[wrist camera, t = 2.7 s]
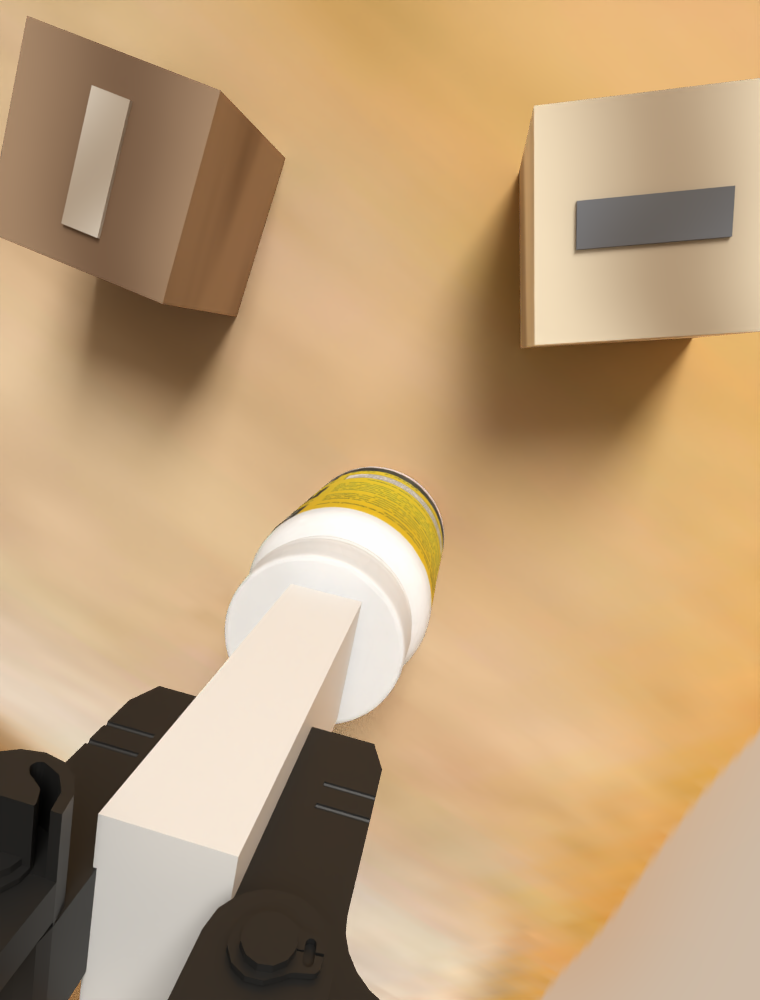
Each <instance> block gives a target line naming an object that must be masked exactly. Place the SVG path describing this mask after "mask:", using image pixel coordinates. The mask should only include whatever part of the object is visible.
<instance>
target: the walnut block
mask: <svg viewBox="0 0 760 1000" xmlns="http://www.w3.org/2000/svg"><path fill="white" fill-rule="evenodd" d="M284 161H285V157H284V156H283V155H282V154H281V153H280V152H279V151H278V150H277V149H276V148H275V147H274V146H273V145H272V144H271V143H270V142H269V141H268V140H267V139H266V138H265V136H264V135H263V134H262V133H261V132H260V131H259V130H258V129H257V128H256V127H255V126H254V125H253V124H252V123H251V122H250V121H249V120H248V119H247V118H246V117H245V116H244V115H243V114H242V112H241V111H240V110H239V109H238V108H237V107H236V106H235V105H234V104H233V103H232V102H231V101H230V100H229V99H228V98H227V97H226V96H225V95H224V94H223V93H222V92H221V91H220V90H218V89H215V88H213V87H210V86H207V85H205V84H202V83H200V82H197V81H194V80H192V79H189V78H187V77H184V76H182V75H179V74H176V73H174V72H171V71H169V70H166V69H163V68H161V67H158V66H156V65H153V64H151V63H148V62H145V61H143V60H140V59H138V58H135V57H132V56H130V55H127V54H125V53H122V52H119V51H117V50H114V49H112V48H109V47H107V46H104V45H101V44H99V43H96V42H94V41H91V40H88V39H86V38H83V37H81V36H78V35H76V34H73V33H70V32H68V31H65V30H63V29H60V28H57V27H55V26H52V25H50V24H47V23H45V22H42V21H39V20H37V19H34V18H32V17H29V16H27V19H26V25H25V30H24V35H23V40H22V46H21V51H20V56H19V61H18V67H17V72H16V77H15V83H14V88H13V93H12V98H11V104H10V109H9V114H8V119H7V125H6V130H5V135H4V141H3V146H2V151H1V156H0V237H1V238H3V239H6V240H8V241H11V242H13V243H15V244H18V245H20V246H23V247H25V248H28V249H30V250H32V251H35V252H37V253H40V254H42V255H45V256H47V257H49V258H52V259H54V260H57V261H59V262H62V263H64V264H66V265H69V266H71V267H74V268H76V269H79V270H81V271H84V272H86V273H88V274H91V275H93V276H96V277H98V278H101V279H103V280H105V281H108V282H110V283H113V284H115V285H118V286H120V287H122V288H125V289H127V290H130V291H132V292H135V293H137V294H139V295H142V296H144V297H147V298H149V299H152V300H154V301H157V302H159V303H161V304H166V305H172V306H177V307H183V308H189V309H195V310H200V311H206V312H212V313H218V314H223V315H229V316H235V317H237V314H238V310H239V307H240V304H241V301H242V297H243V294H244V291H245V288H246V284H247V281H248V278H249V275H250V271H251V268H252V265H253V262H254V258H255V255H256V252H257V249H258V245H259V242H260V239H261V236H262V232H263V229H264V226H265V223H266V219H267V216H268V213H269V210H270V206H271V203H272V200H273V196H274V193H275V190H276V187H277V183H278V180H279V177H280V174H281V170H282V167H283V164H284Z"/></svg>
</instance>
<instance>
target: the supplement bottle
mask: <svg viewBox="0 0 760 1000" xmlns="http://www.w3.org/2000/svg"><path fill="white" fill-rule="evenodd" d="M443 546H444V528H443V522H442V518H441V515H440V512H439V509H438V507H437V505H436V503H435V502H434V500H433V498H432V497H431V496H430V494H429V493H428V492H427V491H426V490H425V489H424V488H423V487H422V486H421V485H420V484H419V483H418V482H417V481H415V480H414V479H412V478H411V477H409V476H407V475H405V474H403V473H401V472H398V471H396V470H392V469H388V468H383V467H362V468H357V469H353V470H350V471H348V472H345V473H343V474H341V475H339V476H337V477H336V478H334V479H333V480H331V481H330V482H329V483H328V484H326V485H325V486H324V487H323V488H322V489H321V490H319V491H318V492H317V493H316V494H315V495H313V496H312V497H311V498H310V499H309V500H308V501H307V502H305V503H304V504H303V505H302V506H300V507H299V508H298V509H297V510H296V511H295V512H294V513H292V514H291V515H290V516H289V517H288V518H287V519H285V520H284V521H283V522H282V523H281V524H279V525H278V526H277V527H276V528H275V529H274V530H273V531H272V532H271V534H270V535H269V536H268V537H267V538H266V540H265V541H264V542H263V543H262V545H261V546H260V548H259V550H258V552H257V553H256V555H255V558H254V560H253V563H252V565H251V569H250V573H249V575H248V576H247V577H246V578H245V580H244V581H243V582H242V583H241V584H240V586H239V587H238V589H237V590H236V592H235V594H234V596H233V598H232V600H231V602H230V605H229V608H228V611H227V615H226V622H225V642H226V648H227V652H228V656H229V657H230V656H231V655H232V654H233V652H234V651H235V650H236V649H237V648H238V646H239V645H240V644H241V643H242V642H243V640H244V639H245V638H246V637H247V636H248V635H249V633H250V632H251V631H252V630H253V629H254V627H255V626H256V625H257V624H258V623H259V621H260V620H261V619H262V618H263V617H264V615H265V614H266V613H267V612H268V611H269V609H270V608H271V607H272V606H273V605H274V604H275V602H276V601H277V600H278V599H279V598H280V596H281V595H282V594H283V593H284V592H285V590H286V589H287V588H288V587H289V586H290V584H294V585H298V586H302V587H306V588H310V589H314V590H318V591H321V592H325V593H329V594H333V595H337V596H341V597H345V598H349V599H353V600H357V601H360V602H362V604H361V609H360V613H359V618H358V623H357V628H356V632H355V637H354V642H353V647H352V651H351V656H350V661H349V666H348V670H347V675H346V680H345V685H344V689H343V694H342V699H341V704H340V708H339V713H338V718H337V720H336V723H335V724H338V723H344V722H348V721H351V720H354V719H357V718H359V717H361V716H363V715H365V714H366V713H368V712H370V711H371V710H373V709H374V708H375V707H377V706H378V705H379V704H380V703H381V702H382V701H383V700H384V699H385V698H386V697H387V696H388V695H389V693H390V692H391V691H392V689H393V688H394V686H395V684H396V682H397V680H398V678H399V677H400V674H401V671H402V668H403V665H404V664H406V663H407V662H408V661H409V660H410V658H411V657H412V656H413V655H414V653H415V652H416V650H417V649H418V647H419V646H420V644H421V642H422V640H423V638H424V636H425V633H426V630H427V627H428V623H429V619H430V614H431V608H432V603H433V597H434V591H435V587H436V581H437V576H438V571H439V566H440V562H441V557H442V552H443Z"/></svg>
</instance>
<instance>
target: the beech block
mask: <svg viewBox="0 0 760 1000" xmlns="http://www.w3.org/2000/svg"><path fill="white" fill-rule="evenodd" d="M519 224H520V348H533V347H549V346H566V345H582V344H599V343H615V342H632V341H648V340H665V339H681V338H696V337H707V336H717V335H728V334H739V333H749V332H760V78H757V79H749V80H740V81H732V82H724V83H716V84H708V85H700V86H692V87H683V88H675V89H667V90H659V91H651V92H643V93H635V94H627V95H618V96H610V97H602V98H594V99H586V100H578V101H570V102H561V103H553V104H545V105H537V106H534V108H533V113H532V117H531V122H530V126H529V130H528V135H527V139H526V144H525V148H524V153H523V157H522V162H521V166H520V171H519Z"/></svg>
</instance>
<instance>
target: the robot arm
mask: <svg viewBox="0 0 760 1000" xmlns="http://www.w3.org/2000/svg"><path fill="white" fill-rule="evenodd" d="M361 604H362V602H360V601H357V600H353V599H349V598H345V597H341V596H337V595H333V594H329V593H325V592H321V591H318V590H314V589H310V588H306V587H302V586H298V585H294V584H290V586H289V587H288V588H287V589H286V590H285V592H284V593H283V594H282V595H281V596H280V598H279V599H278V600H277V601H276V602H275V604H274V605H273V606H272V607H271V608H270V609H269V611H268V612H267V613H266V614H265V615H264V617H263V618H262V619H261V620H260V621H259V623H258V624H257V625H256V626H255V627H254V629H253V630H252V631H251V632H250V633H249V635H248V636H247V637H246V638H245V639H244V640H243V642H242V643H241V644H240V645H239V646H238V648H237V649H236V650H235V651H234V652H233V654H232V655H231V656H230V657H229V658H228V660H227V661H226V662H225V663H224V664H223V666H222V667H221V668H220V669H219V670H218V672H217V673H216V674H215V675H214V676H213V677H212V679H211V680H210V681H209V682H208V683H207V685H206V686H205V687H204V688H203V689H202V691H201V692H200V693H199V694H198V695H197V697H196V696H193V695H189V694H185V693H182V692H178V691H175V690H171V689H168V688H164V687H161V686H159V687H157V688H154V689H152V690H150V691H148V692H146V693H144V694H142V695H139V696H137V697H135V698H133V699H131V700H129V701H128V702H127V703H126V704H125V705H124V706H123V707H122V708H121V709H120V710H119V711H118V712H117V713H116V714H115V715H114V716H113V717H112V718H111V719H110V720H109V721H108V723H107V725H106V726H105V725H103V726H102V727H101V728H100V729H99V730H98V731H97V732H96V733H95V734H94V735H93V736H92V737H91V738H90V741H89V743H88V744H86V743H85V744H84V745H83V746H82V747H81V748H80V749H79V750H78V751H77V752H76V753H75V754H74V755H73V756H72V757H71V758H70V759H69V760H68V761H67V762H66V763H65V762H63V761H61V760H59V759H57V758H55V757H53V756H51V755H49V754H47V753H44V752H37V751H30V750H23V749H18V750H9V751H0V1000H68V999H69V997H70V996H71V994H72V993H73V991H74V990H75V988H76V987H77V985H78V983H79V982H80V980H81V979H82V980H81V990H80V1000H379V999H378V998H377V997H376V996H375V995H374V994H373V993H372V992H371V991H370V990H369V989H368V988H367V986H366V985H365V983H364V982H363V980H362V979H361V977H360V976H359V975H358V973H357V972H356V969H355V967H354V964H353V962H352V959H351V957H350V955H349V952H348V945H347V939H346V924H347V915H348V911H349V906H350V902H351V898H352V894H353V890H354V885H355V881H356V877H357V873H358V869H359V864H360V860H361V856H362V852H363V847H364V843H365V839H366V835H367V831H368V826H369V822H370V818H371V814H372V810H373V805H374V801H375V797H376V793H377V789H378V784H379V780H380V776H381V772H382V768H381V765H380V762H379V759H378V755H377V752H376V749H375V746H374V744H372V743H368V742H365V741H361V740H358V739H354V738H351V737H347V736H344V735H340V734H336V733H333V732H332V731H333V728H334V726H335V723H336V720H337V718H338V713H339V708H340V704H341V699H342V694H343V689H344V685H345V680H346V675H347V670H348V666H349V661H350V656H351V651H352V647H353V642H354V637H355V632H356V628H357V623H358V618H359V613H360V609H361Z"/></svg>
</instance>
